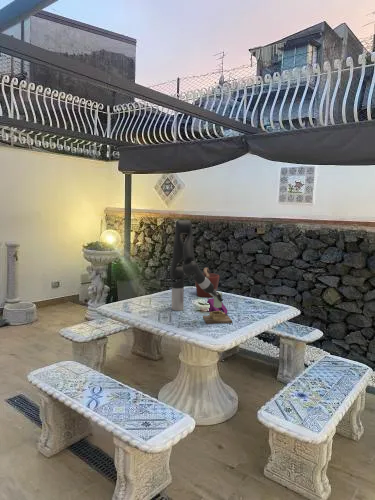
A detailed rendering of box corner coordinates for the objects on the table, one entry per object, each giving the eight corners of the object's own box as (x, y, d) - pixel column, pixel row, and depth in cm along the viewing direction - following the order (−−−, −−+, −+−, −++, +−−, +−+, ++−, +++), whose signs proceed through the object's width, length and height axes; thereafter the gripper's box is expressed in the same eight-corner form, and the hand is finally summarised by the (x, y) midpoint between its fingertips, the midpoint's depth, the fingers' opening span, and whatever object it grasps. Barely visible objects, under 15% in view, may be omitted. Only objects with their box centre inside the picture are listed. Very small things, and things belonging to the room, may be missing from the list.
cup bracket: (202, 317, 266) (203, 310, 266) (227, 317, 269) (227, 309, 268) (206, 323, 253) (206, 315, 252) (232, 323, 255) (232, 315, 254)
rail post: (213, 306, 260) (214, 292, 259) (218, 305, 262) (218, 292, 261) (216, 307, 257) (217, 293, 256) (221, 307, 259) (222, 293, 258)
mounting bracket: (226, 321, 277) (216, 306, 291) (229, 313, 273) (219, 297, 287) (215, 323, 273) (205, 307, 287) (218, 314, 269) (208, 298, 283)
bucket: (213, 299, 318) (214, 271, 315) (189, 297, 326) (189, 269, 323) (221, 293, 341) (221, 266, 338) (198, 291, 349) (198, 265, 346)
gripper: (214, 282, 248) (229, 298, 255) (203, 278, 260) (218, 294, 267) (207, 290, 246) (222, 306, 253) (197, 286, 258) (211, 302, 265)
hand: (220, 300), depth 260 cm, fingers closed on rail post, 4 cm apart
